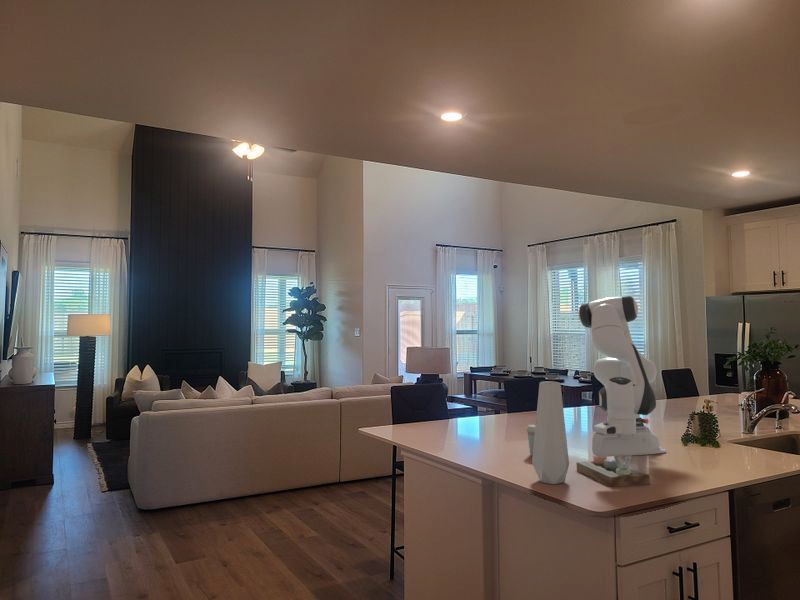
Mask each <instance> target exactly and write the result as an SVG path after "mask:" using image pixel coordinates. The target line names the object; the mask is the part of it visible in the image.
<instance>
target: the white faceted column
mask: <svg viewBox="0 0 800 600" xmlns="http://www.w3.org/2000/svg"><path fill="white" fill-rule="evenodd" d="M537 396H538V397H537V406H536V407H537V408H536V417H535V424H536V425H535V436H534V447H533V456H531V457H532V460H531V461H532V462H531V463H532V464H531V465H532V467H533V469H534V470H535V474H536V475H537V478H538V479H539V481H540V483H544V484H549V485H559V484H563V483H565V480H566V479H567V473H568V469H569V465H570V460H569V458H570V457H569V449H568V440H567V432H566V423H565V411H564V404H563V393H562V385H561V382H558V381H540V382H539V386H538V395H537Z"/></svg>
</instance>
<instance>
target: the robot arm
mask: <svg viewBox="0 0 800 600" xmlns="http://www.w3.org/2000/svg"><path fill="white" fill-rule="evenodd" d="M638 313H639V307H638V304H637V301H636V300H635V298H634V297H633V296H631V295H622V296H611V297H609V296H608V297H604V298H600V299H596V300H593V301H587V302H584V303H582V304H580V306H579V309H578V318H579V321H580V323H581V324H582V326H583V327H585V328H589V329H591V337H592V342H593V345H594V347H595V349H596V350H597V351H598V352H599V353H600V354H602V355H604V356H607V357H603V358H599V359H596V361H595V362H594V364H593V367H592V371H593V376H594V377H595V379H597V380H598V381H599V382H600V383H601V384H602V385H603V387H602V388H601V389H600V390H599V391H598V407H599V408H600V409H601V410H602V411H604V412H606V413H607V415H606V416H607V417H606V420H604V421H602V422H599V423H597V424H595V425H594V426H593V431H594V432H595V433H594V434H593V436H592V440H591V441H592V443H591V445H592V448H591V449H592V454H593V456H594V455H596V456H598V457H607V458H608V457H613V458H614V459H613V460H616V462H617V463H618V469H620V470H621V469H628V468H629V467H630V466H629V464H630V462H631V460H632V456H646V455H656V454H663V453H667V451H666V449H665V448H664V447H661V445H660V440H659V438H658V436H657V435H656V434H655V433H653V432H652V431H651V430H650V428H649V427H647V426H645V425H644V424H647V425H648V424H649V423H650V420H649V419H648V418H646V417H645V418H642V417H641V416H648V415H650V414H651V413H652V412H653V411H654V410H656V408H657V407H656V406H657V400H656V399H657V398H656V395H655V392H654V390H653V387H652V386H651V384H652V383H653V382H654V381H656V378H657V375H658V369H657V366H656V364H655V363H654V362H653V360H651V359H649V358H647V357H646V356H644V355H643V354H642V353H641V352H640V351H639V350H638V349H637V347H636V345H634V342H633V339H632V336H631V332H630V327H629V323H630V322H633V321H636V319H637V317H638ZM622 457H624V460H623V462H622V461H621V460H622Z"/></svg>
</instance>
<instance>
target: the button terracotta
mask: <svg viewBox="0 0 800 600" xmlns="http://www.w3.org/2000/svg"><path fill="white" fill-rule="evenodd" d="M606 459H608V457H598V456H596V455H594V454H593V461H594V464H595V465H604V460H606Z"/></svg>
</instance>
